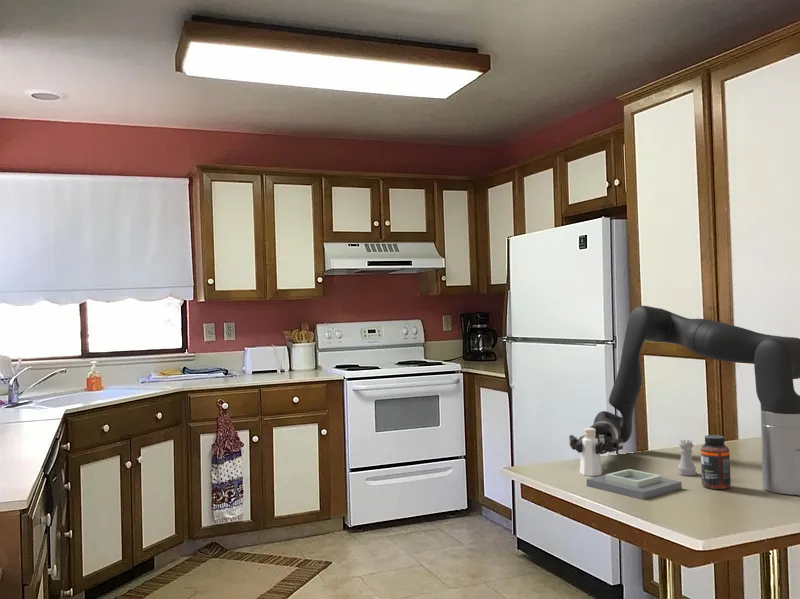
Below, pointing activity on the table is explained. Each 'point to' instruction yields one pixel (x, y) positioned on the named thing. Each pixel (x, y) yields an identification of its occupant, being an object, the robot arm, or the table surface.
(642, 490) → the baseplate
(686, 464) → the rook chess piece
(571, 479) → the table surface
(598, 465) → the pepper shaker
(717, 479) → the supplement bottle
